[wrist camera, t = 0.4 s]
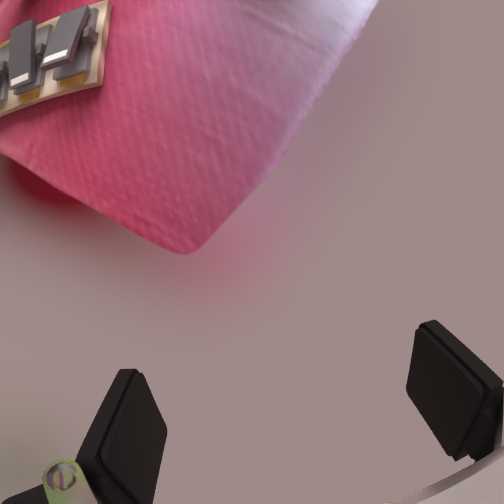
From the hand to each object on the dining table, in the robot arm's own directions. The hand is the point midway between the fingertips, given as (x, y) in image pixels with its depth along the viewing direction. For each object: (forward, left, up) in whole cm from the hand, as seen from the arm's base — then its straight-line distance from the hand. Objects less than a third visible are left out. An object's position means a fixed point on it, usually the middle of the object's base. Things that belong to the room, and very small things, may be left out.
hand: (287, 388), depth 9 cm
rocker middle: (-27, -32, -24) cm, 48 cm away
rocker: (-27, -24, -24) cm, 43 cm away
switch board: (-27, -32, -30) cm, 51 cm away
